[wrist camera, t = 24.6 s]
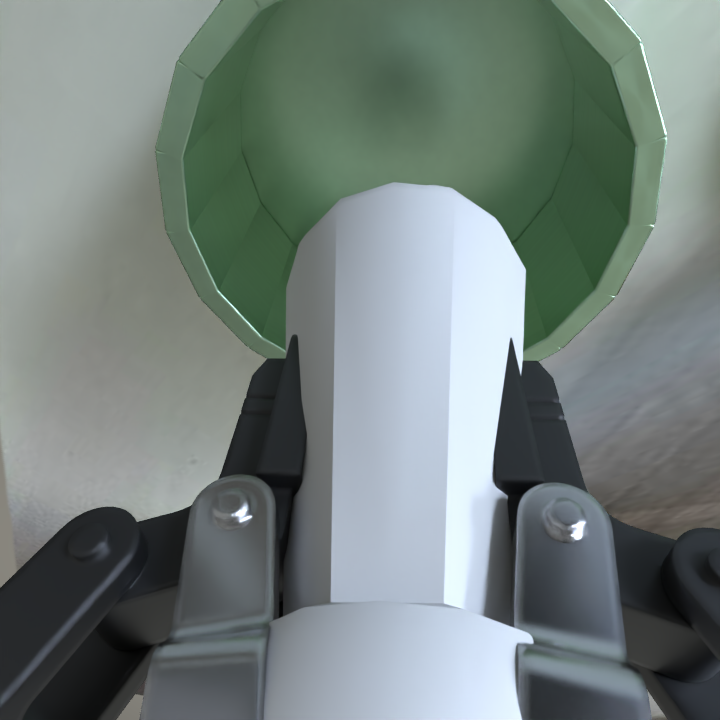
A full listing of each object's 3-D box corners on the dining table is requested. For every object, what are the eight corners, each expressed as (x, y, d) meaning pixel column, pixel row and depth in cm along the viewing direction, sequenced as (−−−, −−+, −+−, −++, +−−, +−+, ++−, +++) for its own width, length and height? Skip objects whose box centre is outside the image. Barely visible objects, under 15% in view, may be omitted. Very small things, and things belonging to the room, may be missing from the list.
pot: (146, 29, 20) (43, 83, 14) (560, -199, 15) (648, -250, 10) (318, 325, 28) (295, 431, 23) (615, 235, 24) (678, 341, 18)
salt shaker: (412, 94, 12) (425, 851, 3) (553, 252, 15) (833, 953, 5) (261, 250, 15) (5, 874, 6) (399, 360, 18) (387, 931, 8)
